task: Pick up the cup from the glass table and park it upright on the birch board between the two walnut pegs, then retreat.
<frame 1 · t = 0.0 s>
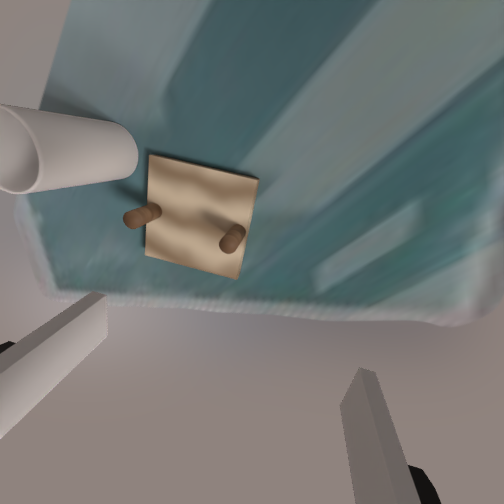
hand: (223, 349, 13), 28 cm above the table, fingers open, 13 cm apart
cup: (114, 151, 39), on the table
peg board: (200, 218, 41), on the table
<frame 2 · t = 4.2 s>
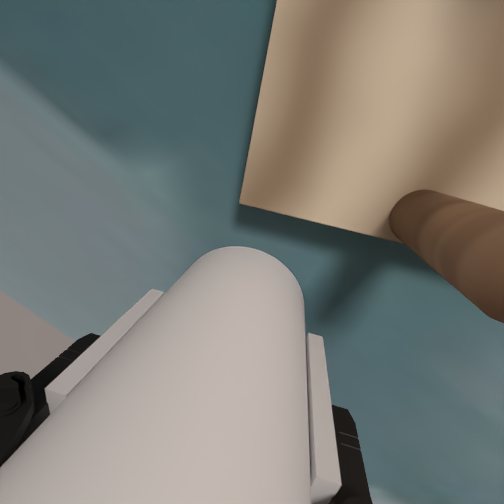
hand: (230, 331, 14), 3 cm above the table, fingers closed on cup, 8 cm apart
cup: (241, 302, 17), on the table, touching gripper
peg board: (472, 50, 10), on the table
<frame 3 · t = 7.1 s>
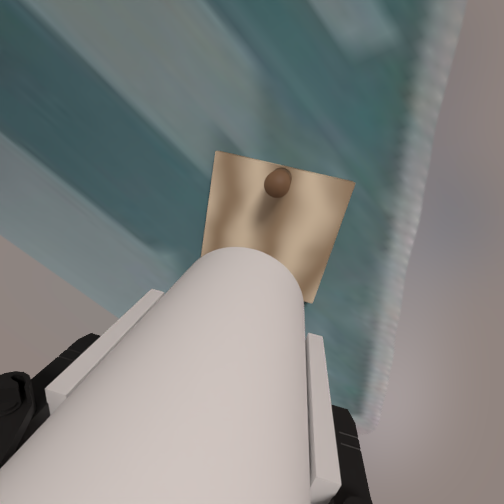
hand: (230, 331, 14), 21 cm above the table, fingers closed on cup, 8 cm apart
cup: (241, 303, 17), point 18 cm above the table, touching gripper
peg board: (269, 228, 33), on the table
when the fingers open (6 cm above the table, at t = 10.1 s): cup drops 1 cm, resting on peg board.
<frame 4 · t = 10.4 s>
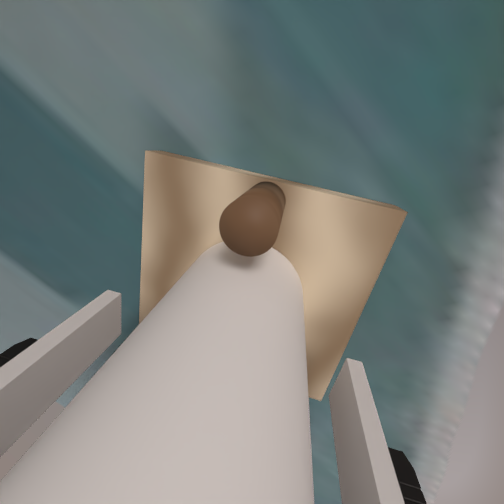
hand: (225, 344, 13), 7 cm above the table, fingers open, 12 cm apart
cup: (244, 292, 18), point 2 cm above the table, touching peg board
peg board: (250, 279, 20), on the table
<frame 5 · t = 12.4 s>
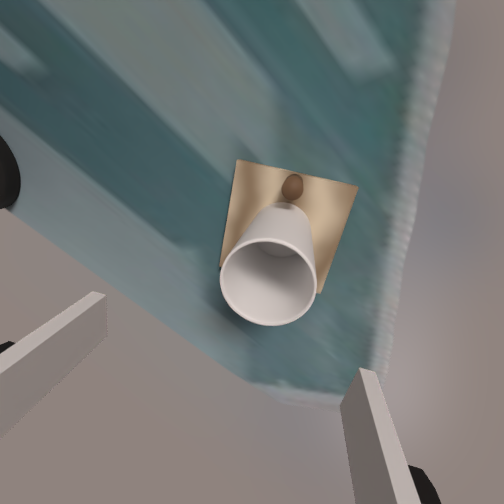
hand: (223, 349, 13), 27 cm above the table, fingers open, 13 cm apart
cup: (281, 230, 36), point 2 cm above the table, touching peg board
peg board: (282, 227, 38), on the table
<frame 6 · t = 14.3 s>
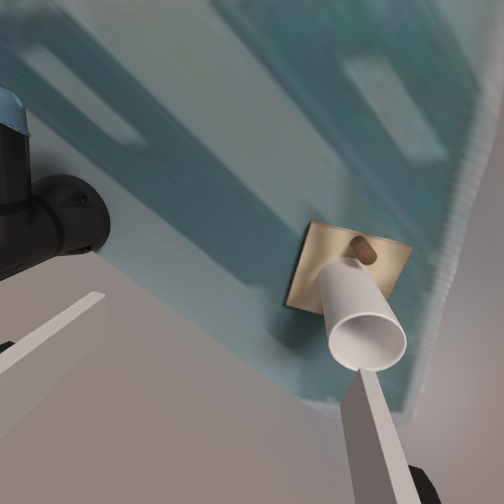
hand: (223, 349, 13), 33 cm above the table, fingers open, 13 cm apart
cup: (343, 278, 43), point 2 cm above the table, touching peg board
peg board: (342, 273, 45), on the table
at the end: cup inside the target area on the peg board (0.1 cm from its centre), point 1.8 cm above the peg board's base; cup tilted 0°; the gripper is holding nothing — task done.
